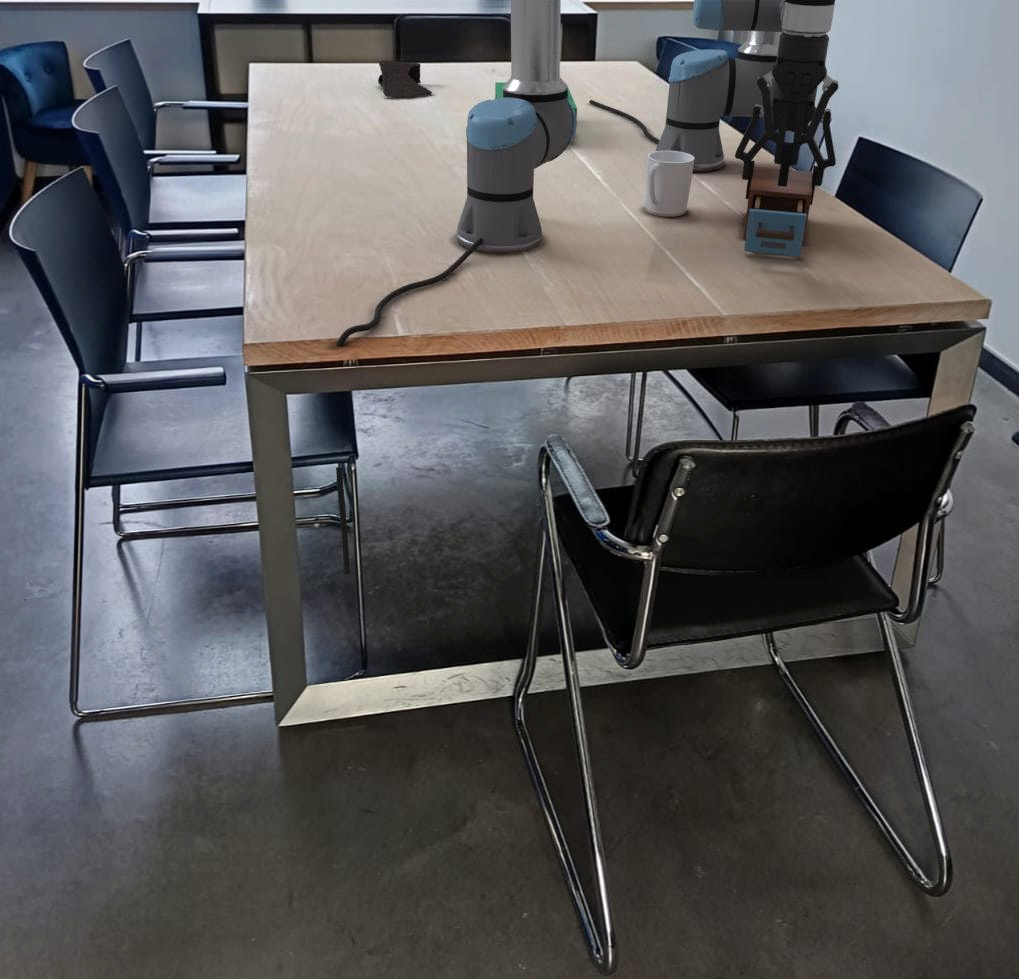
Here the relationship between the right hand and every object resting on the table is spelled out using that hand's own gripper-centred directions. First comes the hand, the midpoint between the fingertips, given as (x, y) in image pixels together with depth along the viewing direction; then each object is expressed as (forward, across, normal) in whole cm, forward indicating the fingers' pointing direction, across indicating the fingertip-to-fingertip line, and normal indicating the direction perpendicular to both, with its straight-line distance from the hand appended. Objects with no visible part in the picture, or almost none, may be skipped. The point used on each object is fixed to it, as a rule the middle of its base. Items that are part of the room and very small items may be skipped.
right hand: (778, 199), depth 206 cm
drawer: (+4, 0, +16) cm, 17 cm away
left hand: (-9, 0, +23) cm, 24 cm away
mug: (+4, +21, 0) cm, 22 cm away
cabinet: (+4, 0, +4) cm, 6 cm away
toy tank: (+4, +60, -58) cm, 84 cm away
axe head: (+4, +104, -87) cm, 135 cm away
